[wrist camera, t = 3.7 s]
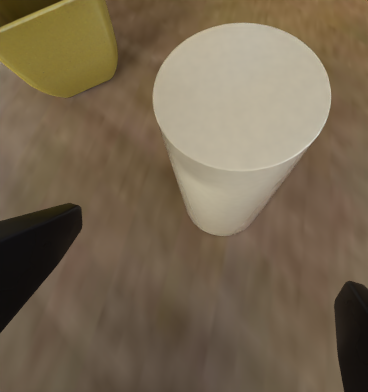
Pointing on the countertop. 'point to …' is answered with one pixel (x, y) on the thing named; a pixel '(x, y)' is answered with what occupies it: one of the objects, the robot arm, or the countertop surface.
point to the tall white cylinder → (238, 118)
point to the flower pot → (58, 44)
